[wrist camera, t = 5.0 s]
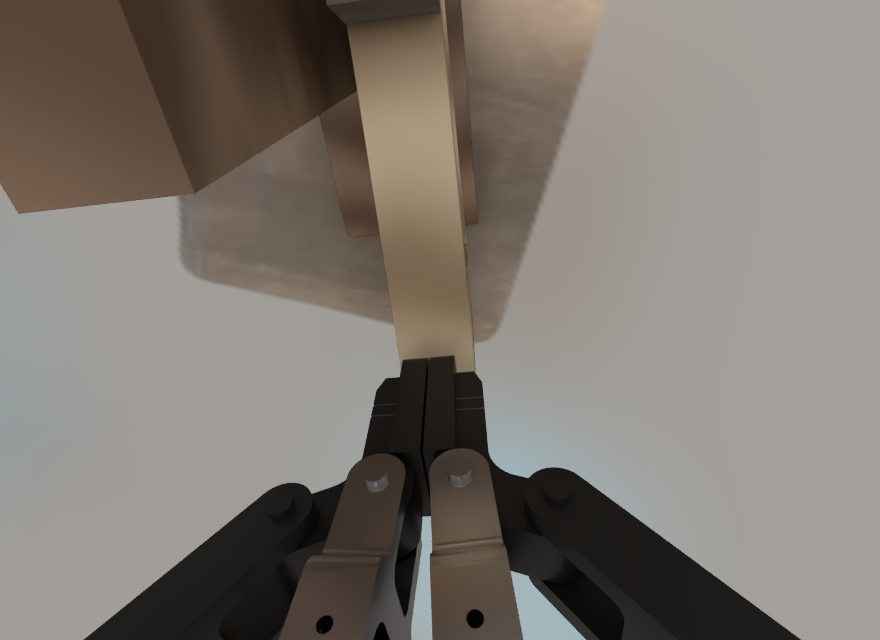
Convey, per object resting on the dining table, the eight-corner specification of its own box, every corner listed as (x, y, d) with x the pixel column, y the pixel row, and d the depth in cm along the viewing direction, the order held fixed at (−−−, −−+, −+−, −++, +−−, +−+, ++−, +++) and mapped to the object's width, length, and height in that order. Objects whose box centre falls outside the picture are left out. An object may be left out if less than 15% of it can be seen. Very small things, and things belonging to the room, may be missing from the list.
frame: (374, -197, 23) (137, -1116, 6) (425, -207, 23) (324, -1181, 6) (432, 276, 31) (399, 434, 15) (469, 272, 31) (479, 429, 14)
